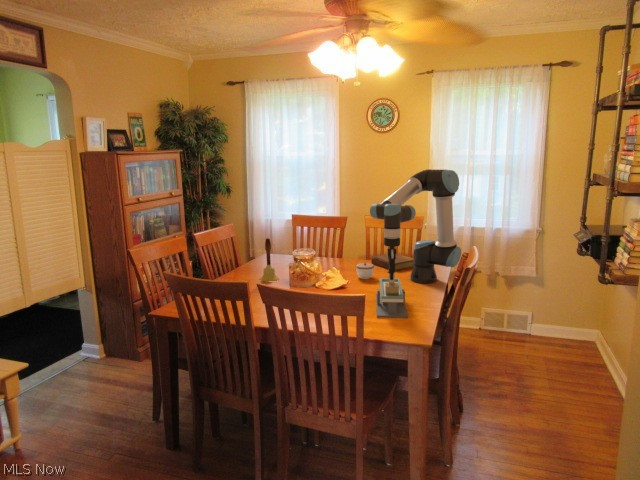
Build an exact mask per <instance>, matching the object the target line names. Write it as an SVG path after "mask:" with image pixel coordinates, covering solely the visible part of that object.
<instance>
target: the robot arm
mask: <svg viewBox="0 0 640 480" xmlns="http://www.w3.org/2000/svg"><path fill="white" fill-rule="evenodd" d="M459 186H460V178H459V176H458V173H457V172H456V171H455V170H452V169H423V170H421V171H418V172H417V173H414V174H413V175H412V176H410V177H409V178H408V179H406V182H405V184H403V185H402V186H400V187H399V188H398V189H397V190H396V191H395V192H393V193H392V194H391V195H389V196H388V197H387V198H385V199H383V201H382V202H381V203H378V202H377V203H373V204H371V206H370V207H369V208H370V209H369V215H370V216H371V218H373V219H377V220H383V223H384V226H383V230H382V232H383V236H384V238H383V245H384V246H385V247H388V248H387V254H388V259H389V268H388V269H387V270H388V271H387V274H388V278H389V283H394V279H396V278H395V274H396V272H397V271H396V270H395V259H396V254H397V248H396V247H399V246H400V245H401V223H406V222H410V221H412V220H414V218H415V217H416V215H417V214H416V209H415V207H414V206H412V205H409V204H408V205H407V204H405V203H407V201H409V200H410V199H411V198H412V197H413V196H415V195H418V194H420V193H421V192H432V197H433V198H434V199H435V210H436V211H435V215H436V232H437V233H436V234H437V235H436V237H437V240H432V239H429V240H428V239H426V240H424V239H423V240H418V241H416V242H415V243H414V244H413V258H414V267H413V268H412V270H411V273H410V277H409V280H410V281H411V282H414V283H419V284H432V283H435V282H437V281H438V276H437V272H436V269H435V265H436V266H441V267H446V268H455V267H456V266H457V265H458V264H459V262H460V260H461V257H462V248H461V247H460V246H458V243H457V241H456V240H455V239H454V214H453V213H454V212H453V209H454V208H453V207H454V206H453V198H454V196H455V195H456V193H457V192H458V191H459V188H460V187H459ZM404 204H405V205H404Z"/></svg>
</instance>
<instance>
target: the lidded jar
mask: <svg viewBox="0 0 640 480" xmlns="http://www.w3.org/2000/svg"><path fill="white" fill-rule="evenodd" d="M355 268H356V269H355V270H356V273H357V276H358V277H359V278H360V280H361V279H362V280H369V279H371V278H372V277H373V275H374V272H375V265H374V264H372V263H369V262H360V263H357V264H356V266H355Z"/></svg>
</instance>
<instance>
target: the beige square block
mask: <svg viewBox="0 0 640 480" xmlns="http://www.w3.org/2000/svg"><path fill="white" fill-rule="evenodd" d="M385 295H386V296H399V284H398V283H385Z"/></svg>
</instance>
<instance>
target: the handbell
mask: <svg viewBox="0 0 640 480" xmlns="http://www.w3.org/2000/svg"><path fill="white" fill-rule="evenodd" d="M264 248H265V254H266V266H265V267H264V268H263V274H262V276H261V277H259V279H258V281H259V280H261V281H276V282H278V281H280V280H279V278H280V277H279V276H277V274H276V271H275V268H274V267H273V266H272V265H271V264H272V263H271V250H272V244H271V239H270V238H268V237H267V238H265V243H264ZM277 280H278V281H277ZM261 281H260V282H261Z"/></svg>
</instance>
